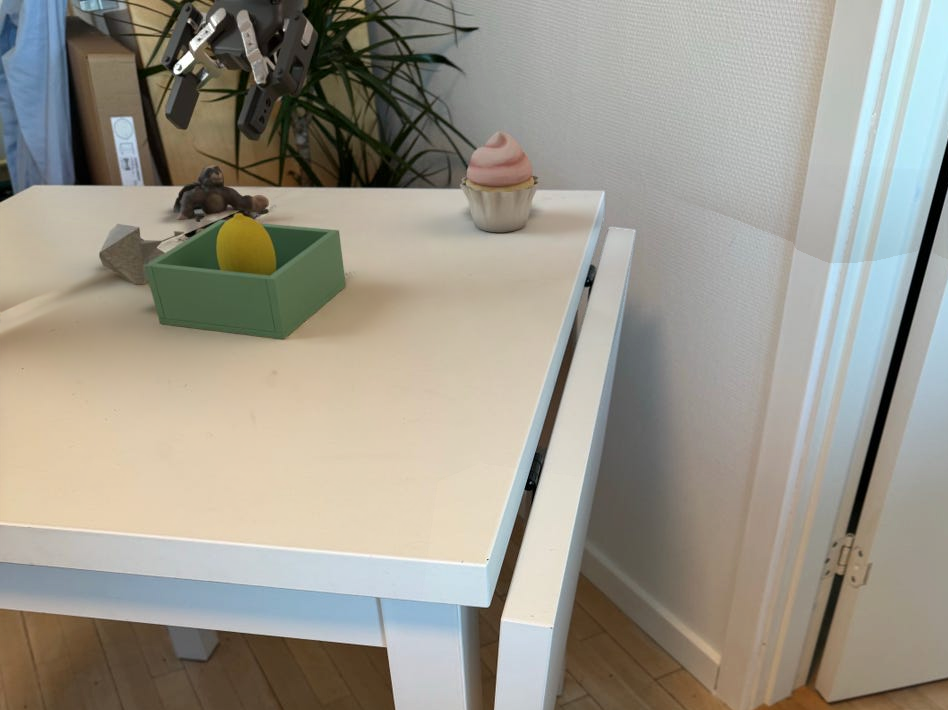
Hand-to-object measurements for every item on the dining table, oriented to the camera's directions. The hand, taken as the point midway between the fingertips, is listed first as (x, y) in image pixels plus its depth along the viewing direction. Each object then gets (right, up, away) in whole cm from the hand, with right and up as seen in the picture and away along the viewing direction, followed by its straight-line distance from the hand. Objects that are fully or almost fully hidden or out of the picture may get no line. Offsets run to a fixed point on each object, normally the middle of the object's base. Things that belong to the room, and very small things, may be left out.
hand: (210, 129), depth 79 cm
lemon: (+1, -11, +11) cm, 16 cm away
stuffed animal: (-8, +6, +31) cm, 33 cm away
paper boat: (-12, -6, +18) cm, 22 cm away
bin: (+1, -11, +12) cm, 16 cm away
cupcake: (+26, +4, +28) cm, 38 cm away
